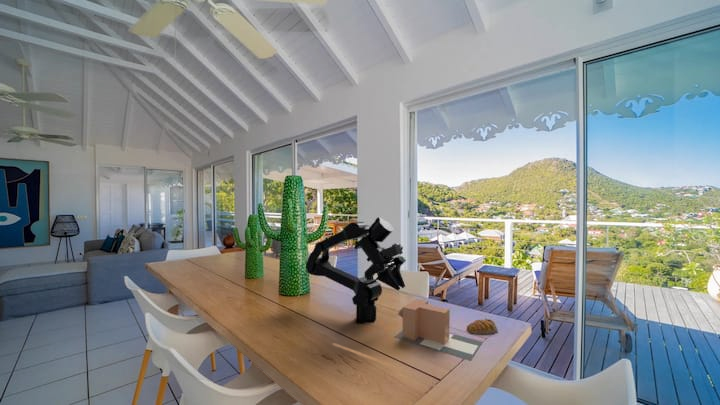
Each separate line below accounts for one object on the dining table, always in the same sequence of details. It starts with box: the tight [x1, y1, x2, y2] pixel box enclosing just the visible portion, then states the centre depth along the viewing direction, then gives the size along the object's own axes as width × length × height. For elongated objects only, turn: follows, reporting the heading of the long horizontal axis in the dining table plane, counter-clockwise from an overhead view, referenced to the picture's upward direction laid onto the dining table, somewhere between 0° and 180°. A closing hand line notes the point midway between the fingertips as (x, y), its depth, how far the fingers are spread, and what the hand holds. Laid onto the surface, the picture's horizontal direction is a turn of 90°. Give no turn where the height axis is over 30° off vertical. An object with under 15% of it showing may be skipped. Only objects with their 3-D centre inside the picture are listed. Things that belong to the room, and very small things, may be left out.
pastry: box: [466, 318, 499, 335], centre depth 94 cm, size 9×7×4 cm
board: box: [394, 330, 484, 362], centre depth 87 cm, size 22×13×1 cm, turn 54°
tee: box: [401, 298, 451, 344], centre depth 89 cm, size 12×10×9 cm
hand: (401, 288), depth 94 cm, fingers open, 3 cm apart
